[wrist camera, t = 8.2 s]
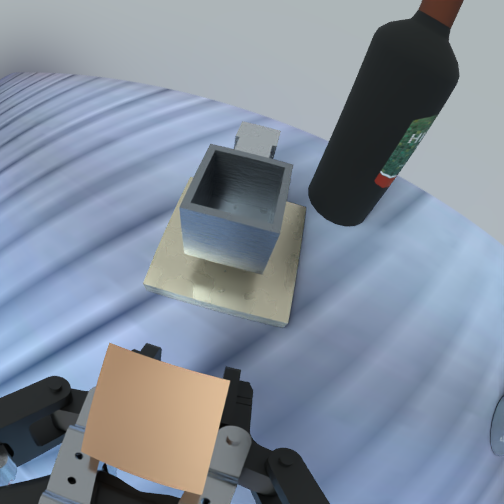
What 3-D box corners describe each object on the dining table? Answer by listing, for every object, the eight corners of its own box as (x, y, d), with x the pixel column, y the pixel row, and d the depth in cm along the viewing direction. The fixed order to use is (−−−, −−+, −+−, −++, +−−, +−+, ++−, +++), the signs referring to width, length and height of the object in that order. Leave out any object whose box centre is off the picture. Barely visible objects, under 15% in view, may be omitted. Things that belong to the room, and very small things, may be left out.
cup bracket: (302, 215, 29) (336, 143, 21) (283, 327, 23) (329, 281, 15) (190, 186, 29) (190, 107, 21) (146, 290, 23) (115, 224, 15)
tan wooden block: (218, 390, 17) (230, 380, 6) (207, 435, 15) (201, 495, 5) (170, 377, 17) (109, 342, 6) (159, 421, 15) (80, 451, 5)
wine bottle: (324, 165, 34) (416, -57, 8) (375, 198, 33) (497, -11, 7) (296, 200, 30) (405, -82, 4) (355, 238, 29) (517, -20, 3)
